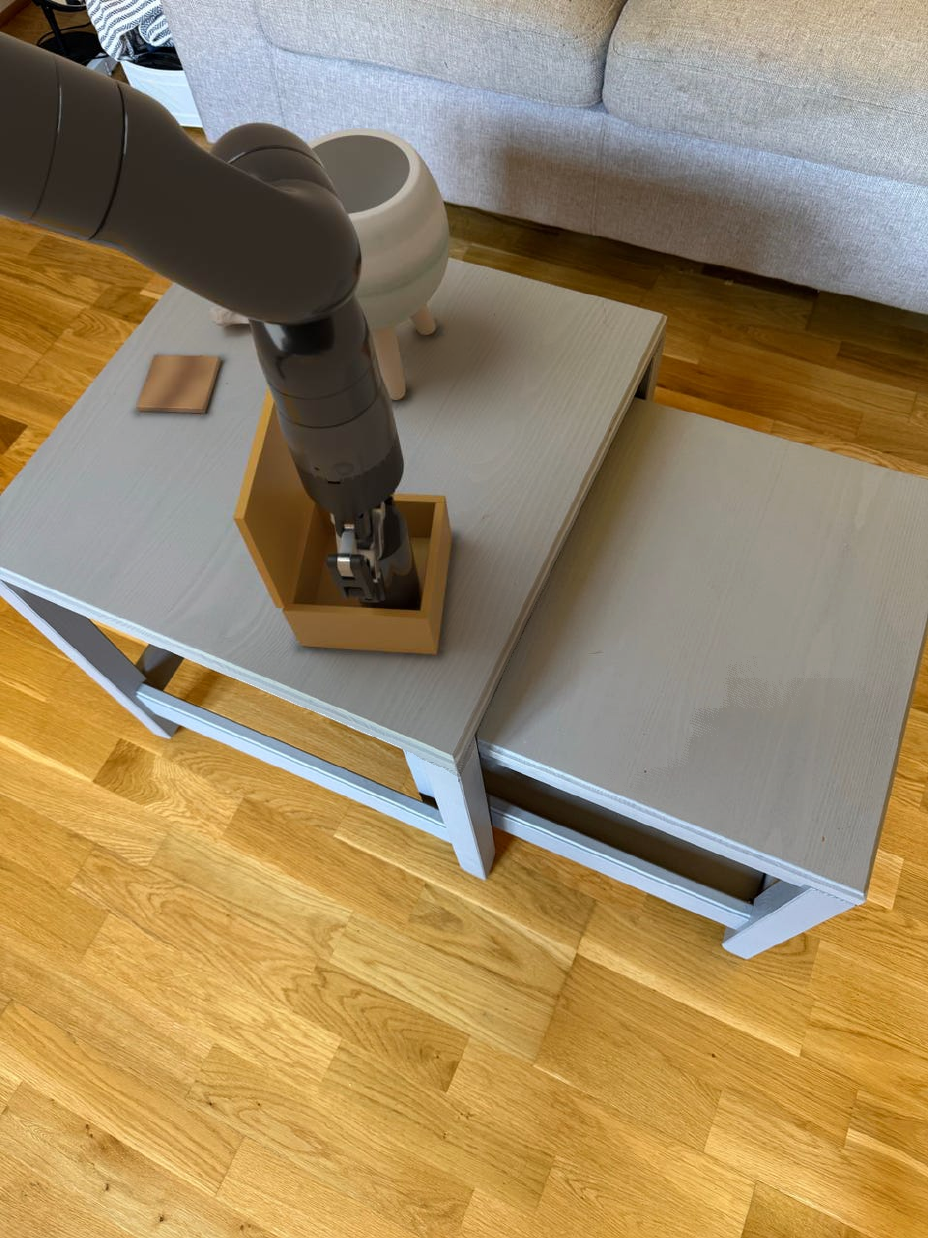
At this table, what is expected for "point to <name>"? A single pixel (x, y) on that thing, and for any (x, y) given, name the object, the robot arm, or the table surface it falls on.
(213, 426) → the table surface
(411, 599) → the dark grey cylinder
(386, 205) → the planter
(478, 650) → the table surface
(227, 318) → the decorative stone
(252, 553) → the lid
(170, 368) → the pad
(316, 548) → the chest
